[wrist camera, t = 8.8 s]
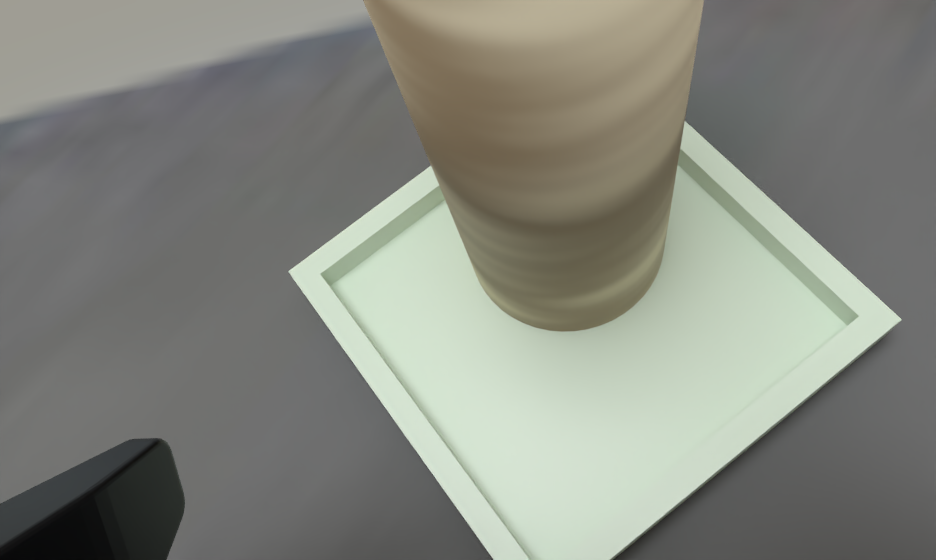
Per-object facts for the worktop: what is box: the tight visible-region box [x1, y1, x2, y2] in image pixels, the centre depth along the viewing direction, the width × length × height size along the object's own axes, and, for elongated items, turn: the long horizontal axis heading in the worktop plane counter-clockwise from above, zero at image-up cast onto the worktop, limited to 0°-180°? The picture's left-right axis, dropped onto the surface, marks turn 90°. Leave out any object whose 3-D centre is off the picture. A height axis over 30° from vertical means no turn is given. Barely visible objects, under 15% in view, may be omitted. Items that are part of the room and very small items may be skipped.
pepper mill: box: [363, 0, 704, 332], centre depth 13 cm, size 5×5×16 cm
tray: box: [288, 121, 902, 560], centre depth 19 cm, size 10×10×1 cm
